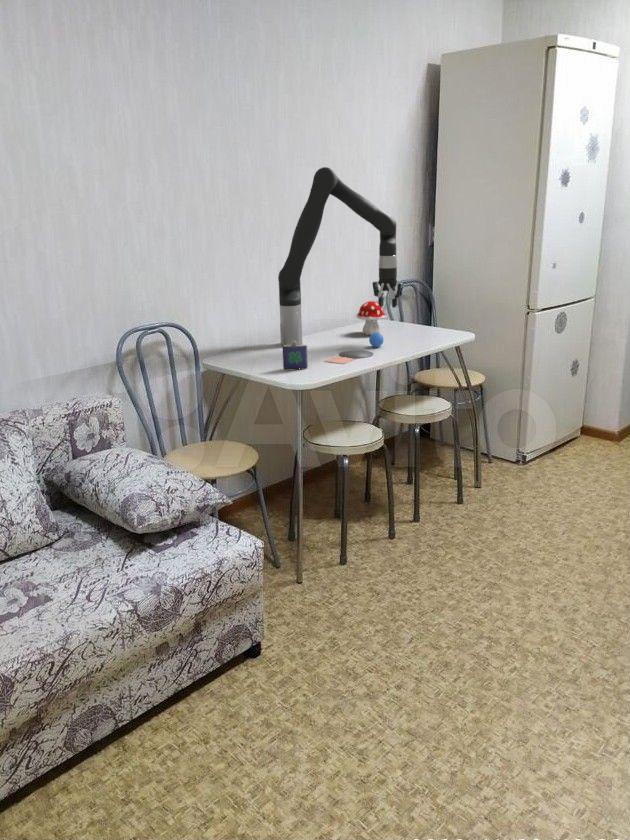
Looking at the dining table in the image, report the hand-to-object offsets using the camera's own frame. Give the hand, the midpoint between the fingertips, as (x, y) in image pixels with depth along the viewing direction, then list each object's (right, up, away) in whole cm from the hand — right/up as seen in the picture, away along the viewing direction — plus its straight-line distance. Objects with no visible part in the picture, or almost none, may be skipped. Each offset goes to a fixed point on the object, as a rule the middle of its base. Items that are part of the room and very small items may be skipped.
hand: (387, 306), depth 302 cm
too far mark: (-21, -25, -24) cm, 41 cm away
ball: (-5, -15, -3) cm, 16 cm away
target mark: (-14, -22, -15) cm, 30 cm away
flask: (-38, -29, -35) cm, 59 cm away
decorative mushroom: (-5, -9, +24) cm, 26 cm away
